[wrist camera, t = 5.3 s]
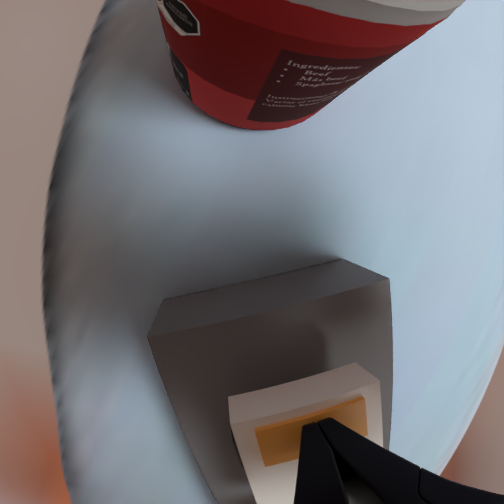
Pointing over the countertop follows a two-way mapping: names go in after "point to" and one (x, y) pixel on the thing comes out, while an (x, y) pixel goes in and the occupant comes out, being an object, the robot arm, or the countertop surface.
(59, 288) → the countertop surface
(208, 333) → the rocker switch panel
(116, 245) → the countertop surface
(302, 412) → the rocker
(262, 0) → the canned food
